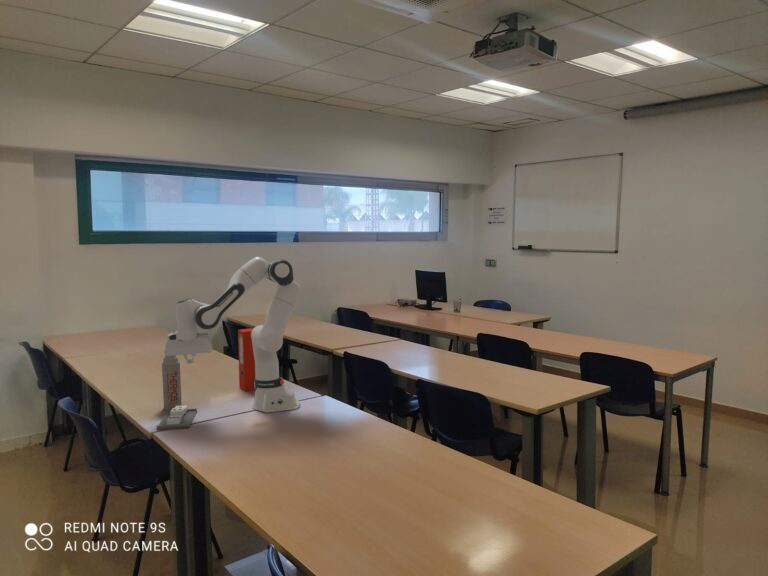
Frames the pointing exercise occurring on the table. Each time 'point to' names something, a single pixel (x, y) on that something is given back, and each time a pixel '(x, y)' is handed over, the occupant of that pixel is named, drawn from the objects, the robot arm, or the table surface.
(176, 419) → the key three
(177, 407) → the key one
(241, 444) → the table surface
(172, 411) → the key two
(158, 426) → the keypad board
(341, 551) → the table surface
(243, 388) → the file binder
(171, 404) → the thermos bottle
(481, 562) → the table surface
